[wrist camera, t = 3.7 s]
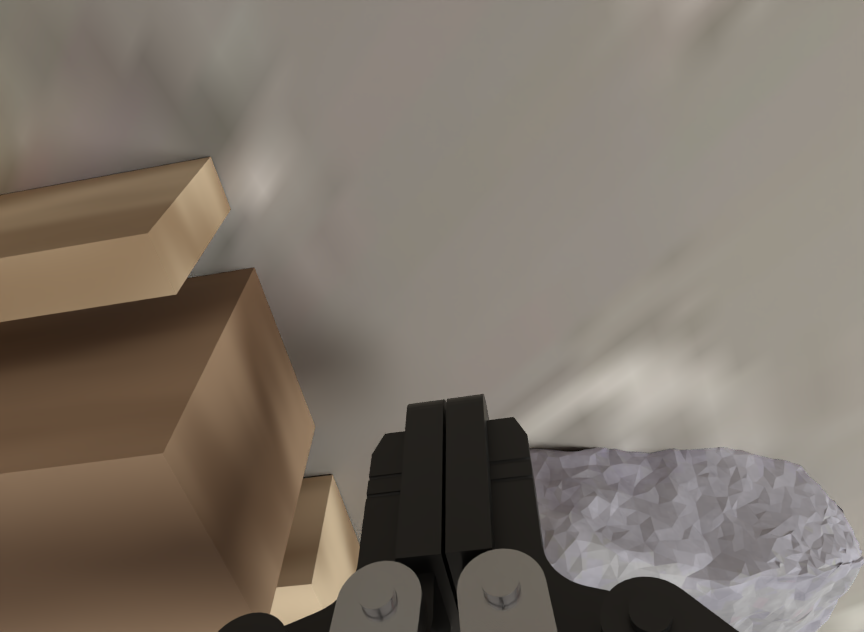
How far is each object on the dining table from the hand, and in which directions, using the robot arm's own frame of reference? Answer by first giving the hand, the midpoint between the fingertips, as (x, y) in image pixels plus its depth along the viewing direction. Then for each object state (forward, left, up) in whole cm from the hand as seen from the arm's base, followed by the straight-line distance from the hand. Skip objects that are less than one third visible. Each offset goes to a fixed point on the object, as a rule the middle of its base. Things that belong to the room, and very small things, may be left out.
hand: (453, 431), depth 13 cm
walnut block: (0, -8, -4) cm, 9 cm away
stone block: (+11, +4, -4) cm, 12 cm away
